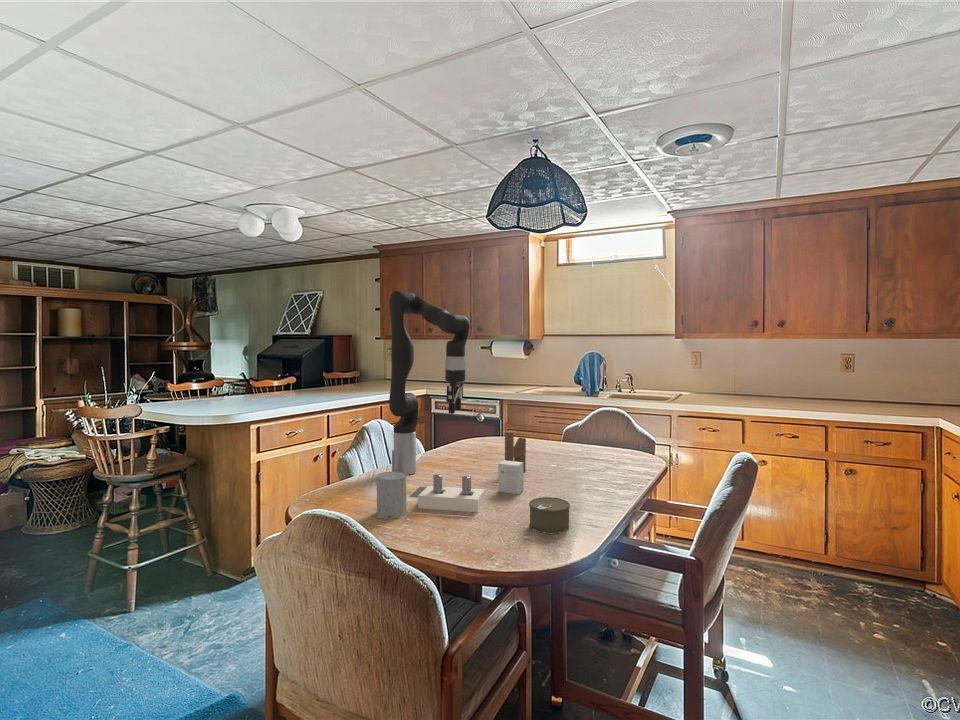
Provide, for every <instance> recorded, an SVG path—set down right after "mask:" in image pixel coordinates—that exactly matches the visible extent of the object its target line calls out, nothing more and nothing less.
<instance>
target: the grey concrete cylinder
mask: <svg viewBox="0 0 960 720" xmlns="http://www.w3.org/2000/svg"><path fill="white" fill-rule="evenodd" d="M375 476H376V477H375V478H376V516H377V518H380V519H385V520H393V519H398V518H403V517H405V516H406V515H407V513H408V510H407V506H408V503H407V497H408V496H407V495H408V494H407V476H408V475H406V473H403V472H396V471H392V470H391V471H385V472H384V471H383V472H380V473H377V474H376V475H375ZM404 515H405V516H404Z"/></svg>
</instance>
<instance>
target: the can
mask: <svg viewBox="0 0 960 720" xmlns="http://www.w3.org/2000/svg"><path fill="white" fill-rule="evenodd" d="M528 506H529V527H530V528H531V529H532V530H533V529H534V530H533V531H535V530H536V531H535V532H538V531H539V532H538V533H542V532H545V533H544V534H550V533H554V534H560V533H559V532H562V533H565V532H566V530H567V531H568V530H569V528H570V507H571V504H570V502H568V501H567V500H565V499H562V498H558V497H550V496H547V497H545V496H544V497H543V496H541V497H537V498H534V499H530V501H529V503H528ZM564 531H565V532H564Z"/></svg>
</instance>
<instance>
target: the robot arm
mask: <svg viewBox="0 0 960 720" xmlns="http://www.w3.org/2000/svg"><path fill="white" fill-rule="evenodd" d="M388 306H389V309H388V310H389V316H390V317H389V318H390V325H391V327H390V330H391V332H390V336H391V348H390V351H391V352H390V353H391V354H390V355H391V356H390V360H391V369H390V370H391V371H390V374H391V375H390V390H389V400H388V404H389V410H390V413H391V414H392V415H393V416H394V417H396V418H397V417H398V418H399V419H398V421H397V422H396V423H394V425H393V430H392V431H393V449H392V450H391V472H392V471H396V472H403V473H406V475H407V476H409V474H410V475H413V473H414V474H416V473H417V426H418V423H419V422H418V421H419V401H418V398H417V396H416V395H415V394H414V393H412V392H406V385H407V384H406V383H407V380H408V377H409V374H410V373H411V370H412V368H413V365H414V360H415V347H414V343H413V340H412V338H411V336H410V335H409V333H408V331H407V329H406V326H405V320H404V319H405V317H404V315H411V314H412V315H419V316H421V317H422V318H423V319H424V320H425V321H426V322H427V323H429V324H431V325H433V326H436V327H438V328H439V329H440V330H441V331H443V333H446V334H450V335H454V336H453V338H452V340H448V341H447V342H446V345H445V346H446V347H445V348H446V349H445V351H446V353H445V355H446V356H445V370H444V373H445V374H444V377H445V379H444V380H445V382H449V385H446V398H445V399H446V403H448V414H452V415H454V414H455V413H456V411H461V409H462V400H463V398H464V383H463V382H465V381H466V362H467V361H466V344H467V340H468V337H469V333H470V328H471V325H470V324H471V323H470V321H469V319H468V317H467V316H465V315H464V314H463V315H462V314H450V312H449V311H447V310H446V309H444V308H442V307H439V306H437V305H434V304H433V303H430V302H427V301H426V300H425V299H423V298H422V297H421V296H418V295H417V294H416V293H414V292H412V291H403V290H394V291H393V292H391V293H390V296H389V305H388ZM415 472H416V473H415Z"/></svg>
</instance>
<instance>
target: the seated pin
mask: <svg viewBox="0 0 960 720" xmlns="http://www.w3.org/2000/svg"><path fill="white" fill-rule="evenodd" d="M461 488H462V495H466V496H471V489H472V476H471V475H463V476H462V477H461Z"/></svg>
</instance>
